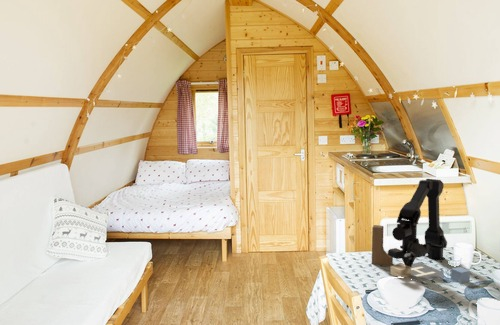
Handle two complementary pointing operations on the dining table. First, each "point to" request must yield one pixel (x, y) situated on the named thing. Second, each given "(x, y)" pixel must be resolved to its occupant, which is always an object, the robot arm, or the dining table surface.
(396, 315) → the dining table surface
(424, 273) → the letter board
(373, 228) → the wooden block
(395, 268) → the birch block
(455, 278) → the blue cube
